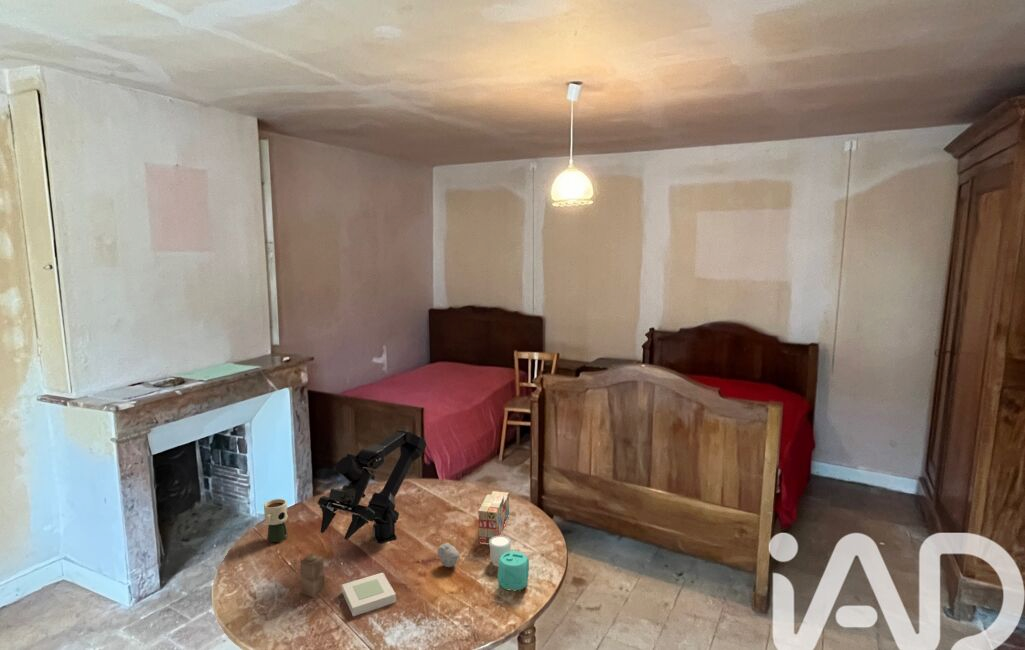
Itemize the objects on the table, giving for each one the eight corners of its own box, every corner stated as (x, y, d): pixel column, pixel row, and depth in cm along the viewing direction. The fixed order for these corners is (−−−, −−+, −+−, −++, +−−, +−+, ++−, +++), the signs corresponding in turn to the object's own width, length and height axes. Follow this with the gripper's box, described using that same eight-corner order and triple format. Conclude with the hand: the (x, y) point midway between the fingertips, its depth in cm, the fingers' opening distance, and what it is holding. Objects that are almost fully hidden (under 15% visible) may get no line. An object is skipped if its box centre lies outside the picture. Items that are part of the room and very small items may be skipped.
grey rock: (444, 558, 178) (444, 537, 177) (463, 563, 175) (463, 542, 174) (433, 568, 172) (433, 547, 171) (453, 573, 169) (452, 552, 168)
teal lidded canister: (524, 593, 160) (524, 567, 159) (497, 590, 162) (497, 564, 160) (529, 576, 168) (528, 552, 167) (503, 574, 169) (502, 549, 168)
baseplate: (383, 580, 166) (382, 572, 166) (396, 602, 156) (395, 593, 156) (342, 592, 160) (341, 584, 160) (353, 616, 150) (352, 607, 150)
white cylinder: (514, 558, 178) (514, 538, 177) (505, 569, 171) (505, 548, 170) (495, 553, 180) (495, 533, 179) (485, 564, 174) (485, 543, 173)
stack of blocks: (492, 514, 207) (492, 483, 205) (509, 516, 206) (509, 484, 204) (478, 544, 186) (478, 510, 184) (496, 546, 185) (496, 511, 183)
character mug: (279, 548, 184) (277, 511, 182) (259, 547, 184) (256, 510, 182) (295, 531, 195) (293, 496, 193) (275, 530, 195) (273, 495, 193)
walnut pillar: (313, 584, 164) (311, 551, 162) (324, 588, 162) (323, 555, 161) (302, 593, 160) (300, 559, 159) (313, 597, 158) (311, 563, 157)
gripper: (319, 471, 174) (294, 520, 165) (367, 482, 166) (343, 534, 157) (338, 485, 182) (315, 532, 173) (385, 496, 174) (363, 546, 166)
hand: (333, 536), depth 167 cm, fingers open, 9 cm apart
